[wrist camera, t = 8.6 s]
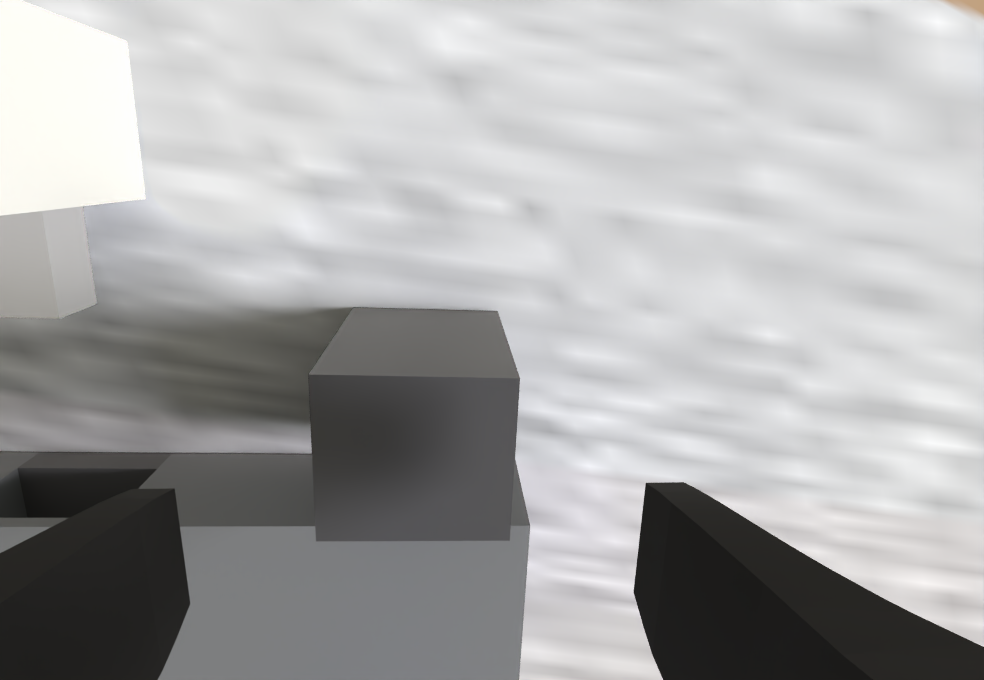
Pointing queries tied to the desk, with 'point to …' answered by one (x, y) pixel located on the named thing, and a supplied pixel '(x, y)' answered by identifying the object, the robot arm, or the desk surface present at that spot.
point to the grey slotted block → (341, 516)
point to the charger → (59, 154)
